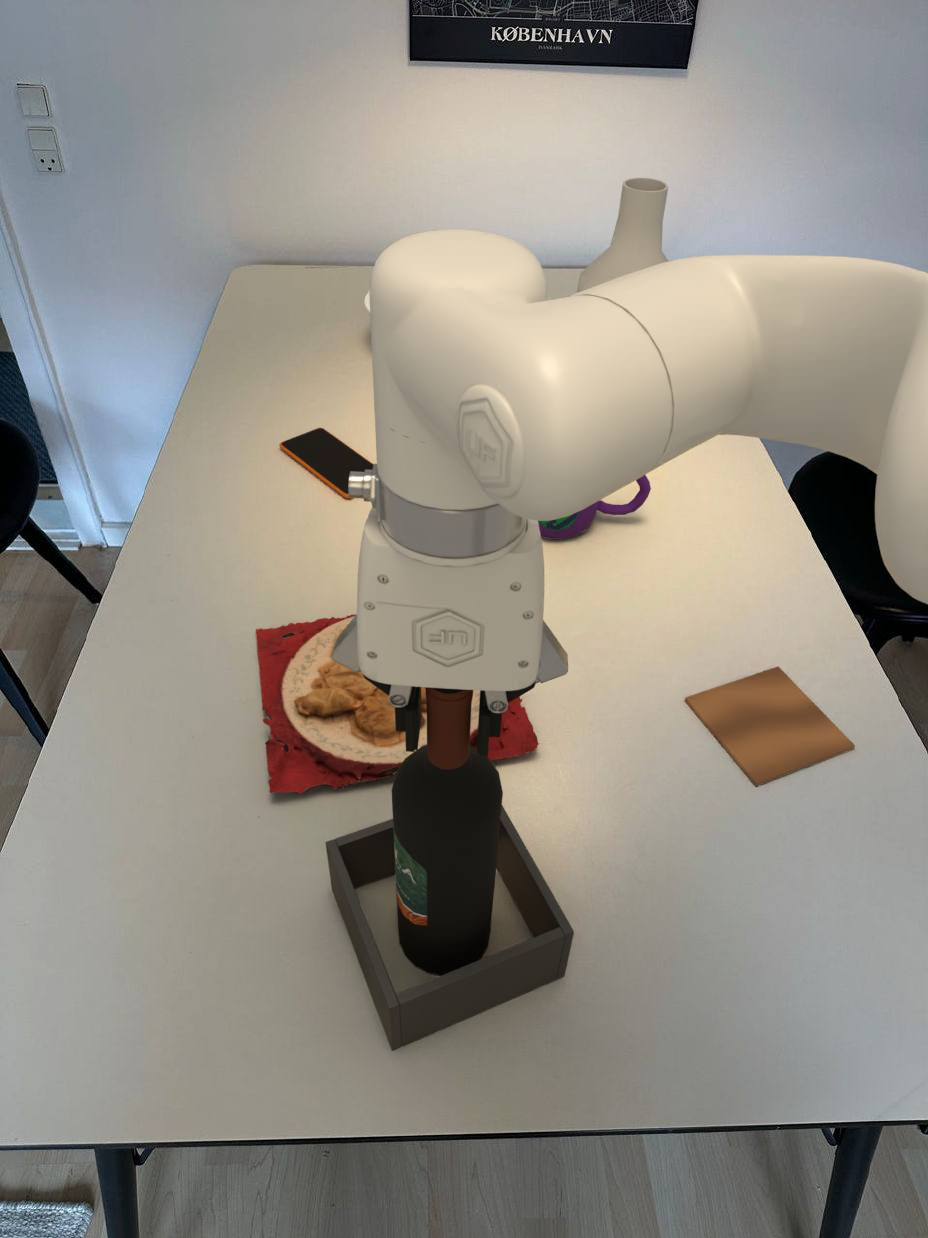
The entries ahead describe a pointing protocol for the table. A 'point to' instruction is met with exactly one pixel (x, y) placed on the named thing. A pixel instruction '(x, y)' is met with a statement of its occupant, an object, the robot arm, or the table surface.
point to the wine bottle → (446, 840)
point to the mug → (592, 515)
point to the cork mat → (768, 725)
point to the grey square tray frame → (470, 985)
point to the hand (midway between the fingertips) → (448, 734)
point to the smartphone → (326, 458)
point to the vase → (632, 234)
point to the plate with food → (344, 714)
